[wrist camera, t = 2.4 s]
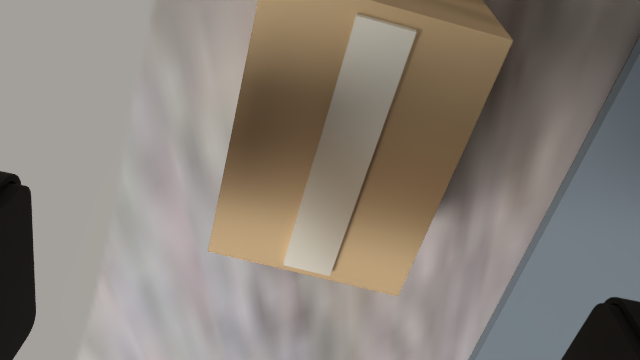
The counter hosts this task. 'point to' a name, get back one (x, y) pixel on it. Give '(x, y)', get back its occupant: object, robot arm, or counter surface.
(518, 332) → the mat
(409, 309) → the counter surface
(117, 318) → the counter surface
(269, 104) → the taped cardboard box
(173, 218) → the counter surface
